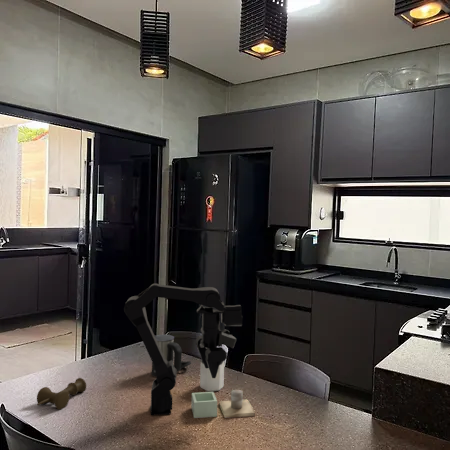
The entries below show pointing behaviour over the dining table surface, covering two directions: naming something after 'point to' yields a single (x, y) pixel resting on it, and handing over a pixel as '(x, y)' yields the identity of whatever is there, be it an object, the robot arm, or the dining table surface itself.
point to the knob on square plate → (236, 406)
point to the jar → (208, 381)
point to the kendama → (60, 394)
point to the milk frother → (170, 352)
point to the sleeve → (204, 404)
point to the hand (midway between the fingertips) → (210, 372)
